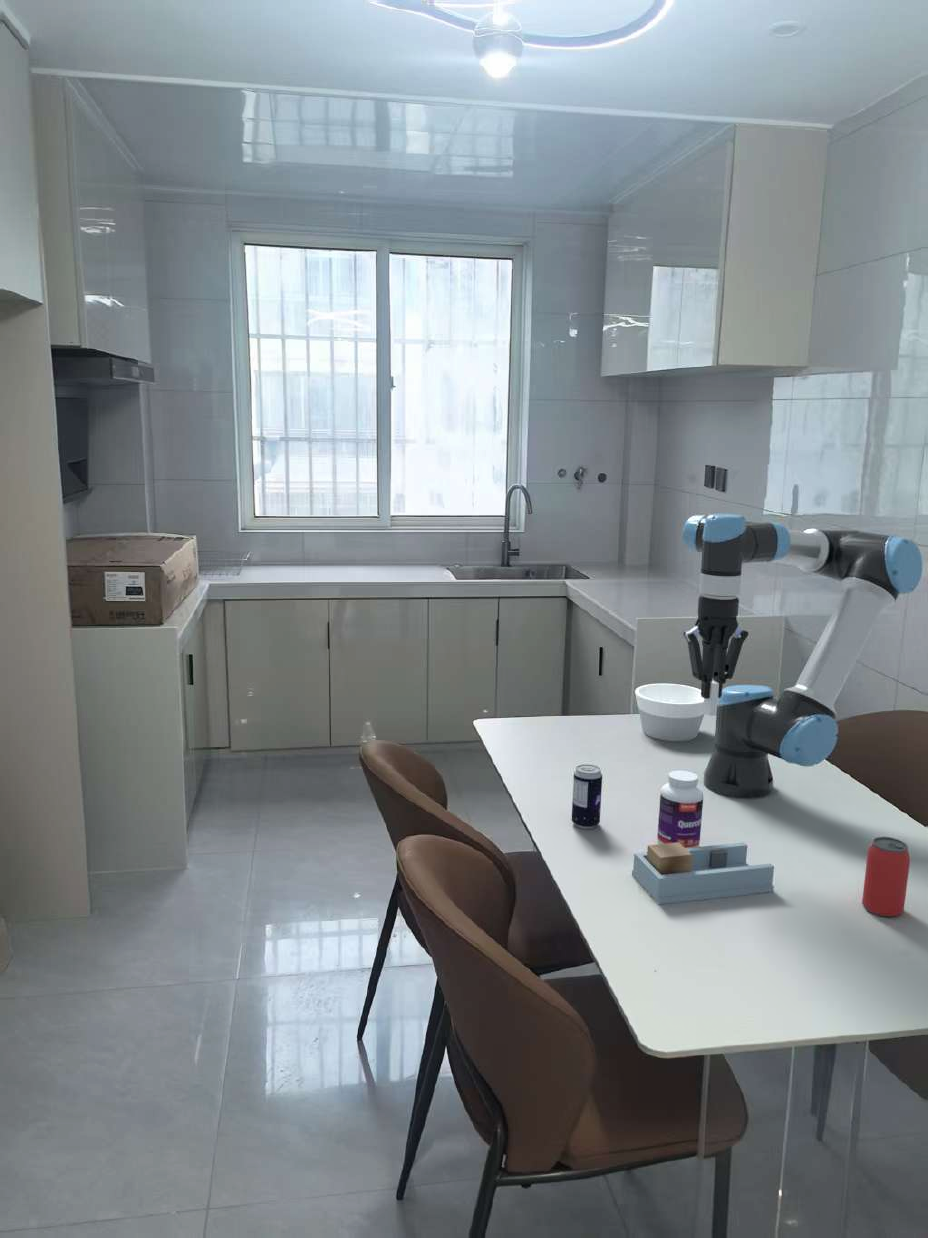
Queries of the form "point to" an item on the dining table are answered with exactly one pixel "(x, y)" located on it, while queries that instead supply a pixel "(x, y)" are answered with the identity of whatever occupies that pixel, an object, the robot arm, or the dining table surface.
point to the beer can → (886, 877)
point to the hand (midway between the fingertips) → (709, 713)
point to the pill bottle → (680, 810)
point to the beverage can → (586, 796)
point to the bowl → (670, 711)
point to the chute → (706, 875)
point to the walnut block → (669, 858)
